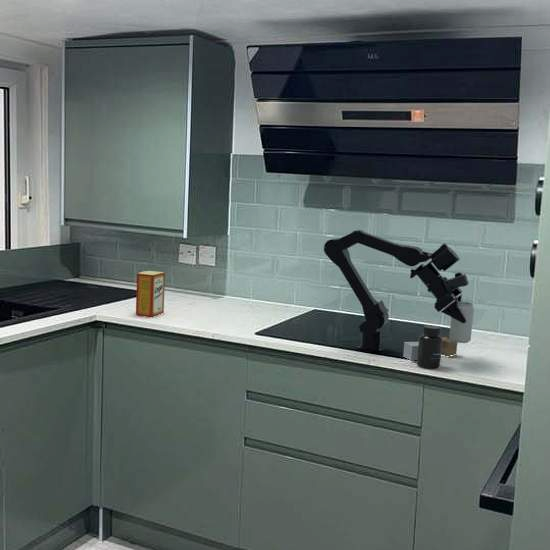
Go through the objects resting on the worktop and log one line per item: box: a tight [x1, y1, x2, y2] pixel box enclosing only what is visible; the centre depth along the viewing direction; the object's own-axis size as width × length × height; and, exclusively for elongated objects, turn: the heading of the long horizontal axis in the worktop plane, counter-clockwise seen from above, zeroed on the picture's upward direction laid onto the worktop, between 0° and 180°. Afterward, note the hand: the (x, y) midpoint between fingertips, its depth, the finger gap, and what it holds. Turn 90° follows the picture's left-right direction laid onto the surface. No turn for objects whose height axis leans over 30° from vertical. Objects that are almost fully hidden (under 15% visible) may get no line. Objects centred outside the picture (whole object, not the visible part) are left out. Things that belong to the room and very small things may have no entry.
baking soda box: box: [135, 270, 166, 318], centre depth 267 cm, size 10×6×16 cm
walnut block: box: [441, 336, 458, 356], centre depth 230 cm, size 5×5×5 cm
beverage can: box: [448, 300, 475, 344], centre depth 219 cm, size 6×6×12 cm
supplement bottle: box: [416, 325, 443, 370], centre depth 214 cm, size 7×7×12 cm
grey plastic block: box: [402, 341, 419, 362], centre depth 222 cm, size 5×5×5 cm
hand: (466, 320), depth 219 cm, fingers closed on beverage can, 6 cm apart
